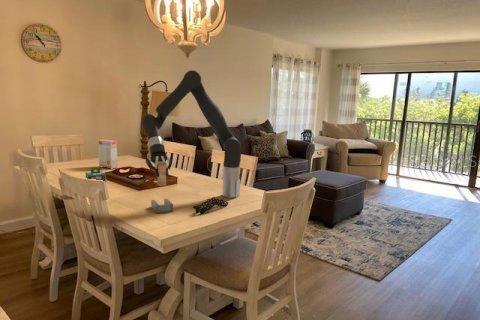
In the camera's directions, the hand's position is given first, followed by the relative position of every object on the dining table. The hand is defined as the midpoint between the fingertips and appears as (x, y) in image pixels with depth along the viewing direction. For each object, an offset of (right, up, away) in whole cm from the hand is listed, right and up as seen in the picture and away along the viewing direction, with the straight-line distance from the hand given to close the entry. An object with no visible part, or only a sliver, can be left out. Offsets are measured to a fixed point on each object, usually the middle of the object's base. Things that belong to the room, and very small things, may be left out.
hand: (162, 176), depth 169 cm
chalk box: (-43, -11, +28) cm, 53 cm away
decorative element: (+23, -17, +6) cm, 29 cm away
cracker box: (-62, +2, +97) cm, 115 cm away
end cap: (-1, -16, +4) cm, 17 cm away
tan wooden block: (-1, -4, +3) cm, 5 cm away
